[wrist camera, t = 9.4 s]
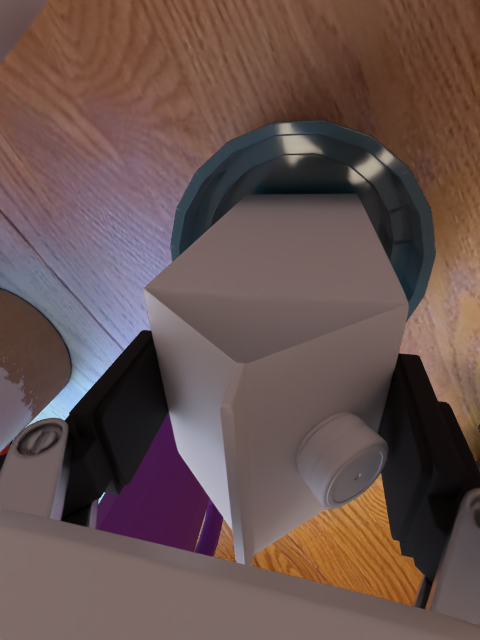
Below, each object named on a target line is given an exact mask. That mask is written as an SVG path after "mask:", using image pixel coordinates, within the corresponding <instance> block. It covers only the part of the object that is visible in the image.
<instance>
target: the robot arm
mask: <svg viewBox="0 0 480 640" xmlns="http://www.w3.org/2000/svg"><path fill="white" fill-rule="evenodd" d="M168 412H169V410H168V405H167V400H166V396H165V391H164V386H163V382H162V377H161V373H160V368H159V363H158V359H157V354H156V350H155V345H154V340H153V336H152V331H148V330H143V331H141V332H140V333H139V334H138V336H137V337H136V338H135V339H134V340H133V341H132V342H131V343H130V345H129V346H128V347H127V348H126V349H125V350H124V351H123V353H122V354H121V355H120V356H119V357H118V358H117V359H116V360H115V362H114V363H113V364H112V365H111V366H110V367H109V368H108V370H107V371H106V372H105V373H104V374H103V375H102V376H101V377H100V379H99V380H98V381H97V382H96V383H95V384H94V385H93V387H92V388H91V389H90V390H89V391H88V392H87V393H86V394H85V396H84V397H83V398H82V399H81V400H80V401H79V402H78V403H77V405H76V406H75V407H74V408H73V409H72V410H71V411H70V413H69V414H70V415H69V416H68V417H67V419H66V420H65V421H64V420H62V419H59V418H48V419H43V420H40V421H37V422H35V423H33V424H31V425H29V426H28V427H26V428H25V429H24V430H22V431H21V432H20V433H19V434H18V435H17V436H16V437H15V439H14V440H13V442H12V444H11V446H10V448H9V451H8V452H7V453H5V454H3V455H0V640H480V471H479V469H478V467H477V464H476V462H475V460H474V458H473V455H472V453H471V451H470V449H469V446H468V444H467V442H466V440H465V438H464V435H463V433H462V431H461V429H460V426H459V424H458V422H457V420H456V417H455V415H454V413H453V411H452V408H451V407H450V405H449V404H448V403H446V402H439V401H438V400H437V398H436V395H435V393H434V391H433V388H432V386H431V383H430V381H429V378H428V376H427V373H426V371H425V368H424V366H423V364H422V361H421V359H420V357H419V356H418V355H410V354H398V358H397V362H396V366H395V369H394V373H393V377H392V381H391V385H390V389H389V393H388V397H387V401H386V405H385V409H384V413H383V416H382V420H381V424H380V428H379V432H378V435H380V436H381V437H382V438H383V439H384V440H385V441H386V442H387V445H388V457H387V461H386V463H385V465H384V467H383V470H382V471H381V475H382V481H383V487H384V493H385V499H386V506H387V512H388V518H389V524H390V530H391V535H392V538H393V540H397V541H399V542H400V548H401V554H402V555H403V556H408V557H413V558H414V563H415V566H416V567H417V568H418V569H419V570H420V571H421V572H422V573H423V576H422V579H421V582H420V585H419V588H418V591H417V594H416V597H415V600H414V603H413V606H409V605H406V604H402V603H398V602H394V601H390V600H387V599H383V598H379V597H375V596H371V595H368V594H363V593H359V592H355V591H351V590H347V589H343V588H339V587H335V586H331V585H327V584H323V583H318V582H314V581H310V580H306V579H302V578H298V577H294V576H290V575H286V574H282V573H278V572H274V571H269V570H265V569H261V568H257V567H253V566H249V565H245V564H240V563H236V562H232V561H228V560H224V559H220V558H215V557H211V556H207V555H203V554H199V553H195V552H190V551H186V550H182V549H178V548H174V547H169V546H165V545H161V544H157V543H153V542H148V541H144V540H140V539H136V538H131V537H127V536H123V535H118V534H114V533H110V532H106V531H101V530H97V529H96V522H97V511H98V500H99V498H101V496H102V494H103V493H104V492H105V493H110V494H115V495H119V494H120V493H121V491H122V489H123V487H124V485H129V483H130V482H131V481H132V479H133V477H134V475H135V473H136V472H137V470H138V468H139V466H140V464H141V462H142V460H143V459H144V457H145V455H146V453H147V451H148V449H149V447H150V446H151V444H152V442H153V440H154V438H155V436H156V435H157V433H158V431H159V429H160V427H161V425H162V423H163V422H164V420H165V418H166V416H167V414H168Z"/></svg>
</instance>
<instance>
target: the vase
mask: <svg viewBox="0 0 480 640" xmlns="http://www.w3.org/2000/svg"><path fill="white" fill-rule="evenodd" d="M70 373H71V362H70V357H69V354H68V351H67V348H66V346H65V344H64V342H63V340H62V339H61V337H60V335H59V334H58V332H57V331H56V330H55V328H54V327H53V326H52V325H51V324H50V322H49V321H48V320H47V319H46V318H45V317H44V316H43V315H42V314H41V313H40V312H38V311H37V310H36V309H35V308H34V307H32V306H31V305H30V304H28V303H27V302H25V301H24V300H22V299H21V298H19V297H17V296H15V295H13V294H11V293H9V292H7V291H4V290H2V289H0V452H1V451H2V450H3V449H4V448H5V447H6V446H7V445H8V444H9V443H10V442H11V441H12V440H13V439H14V438H15V437H16V436H17V435H18V434H19V433H20V432H21V431H22V430H23V429H24V428H25V427H26V426H27V425H28V424H29V423H30V422H31V421H32V420H33V419H34V418H35V417H36V416H37V415H38V414H39V413H40V412H41V411H42V410H43V409H44V408H45V407H46V406H47V405H48V404H49V403H50V402H51V401H52V400H53V399H54V398H55V397H56V396H57V395H58V394H59V393H60V391H61V390H62V389H63V388H64V387H65V385H66V384H67V382H68V380H69V377H70Z"/></svg>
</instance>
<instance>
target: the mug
mask: <svg viewBox="0 0 480 640" xmlns="http://www.w3.org/2000/svg"><path fill="white" fill-rule="evenodd" d="M206 509H207V511H206ZM205 513H206V517H205V521H204V525H203V528H202V532H201V535H200V539H199V542H198V544H197V547H196V549H195V546H196V542H197V539H198V536H199V533H200V529H201V526H202V523H203V519H204V516H205ZM222 522H223V516H222V515H221V513H220V512H219V510H218V509H217V508H216V506H215V505H214V503H213V502H212V500H211V499H210V497H209V496H208V494H207V493H206V492H205V490H204V489H203V487H202V486H201V484H200V483H199V481H198V480H197V479H196V477H195V476H194V474H193V473H192V471H191V470H190V468H189V467H188V465H187V464H186V463H185V461H184V460H183V458H182V457H181V455H180V454H179V452H178V450H177V446H176V442H175V437H174V433H173V428H172V423H171V419H170V414H169V412H168V414H167V416H166V418H165V420H164V422H163V423H162V425H161V427H160V429H159V431H158V433H157V435H156V436H155V438H154V440H153V442H152V444H151V446H150V447H149V449H148V451H147V453H146V455H145V457H144V459H143V460H142V462H141V464H140V466H139V468H138V470H137V472H136V473H135V475H134V477H133V479H132V481H131V482H130V483H129V485H124V487H123V489H122V491H121V493H120V494H119V495H115V494H110V493H105V494H104V496H103V498H102V499H101V501H100V503H99V505H98V511H97V522H96V529H97V530H101V531H106V532H110V533H114V534H118V535H123V536H127V537H131V538H136V539H140V540H144V541H148V542H153V543H157V544H161V545H165V546H169V547H174V548H178V549H182V550H186V551H190V552H194V549H195V553H199V554H203V555H207V556H211V557H213V556H214V553H215V550H216V547H217V544H218V540H219V536H220V531H221V527H222Z"/></svg>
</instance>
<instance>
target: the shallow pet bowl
mask: <svg viewBox="0 0 480 640" xmlns="http://www.w3.org/2000/svg"><path fill="white" fill-rule="evenodd" d="M248 194H357V195H358V196H359V198H360V201H361V203H362V205H363V207H364V209H365V211H366V213H367V215H368V217H369V219H370V221H371V223H372V226H373V228H374V230H375V232H376V234H377V236H378V238H379V240H380V242H381V244H382V246H383V248H384V251H385V253H386V255H387V257H388V259H389V261H390V263H391V265H392V267H393V269H394V271H395V273H396V276H397V278H398V280H399V282H400V284H401V286H402V288H403V291H404V293H405V296H406V298H407V301H408V305H409V309H408V315H407V320H408V319H409V317H410V316H411V315H412V313H413V312H414V310H415V309H416V307H417V306H418V304H419V303H420V301H421V300H422V298H423V297H424V295H425V292H426V289H427V285H428V281H429V278H430V274H431V271H432V267H433V263H434V260H435V254H436V250H435V239H434V228H433V217H432V211H431V207H430V206H429V204H428V202H427V200H426V198H425V196H424V194H423V192H422V190H421V188H420V186H419V184H418V182H417V180H416V178H415V177H414V175H413V173H412V171H411V169H409V167H408V166H407V165H406V164H405V163H404V162H402V161H401V160H400V159H399V158H398V157H397V156H395V155H394V154H393V153H392V152H391V151H389V150H388V149H387V148H386V147H385V146H384V145H382V144H381V143H380V142H379V141H378V140H376V139H375V138H374V137H372V136H371V135H368V134H365V133H362V132H359V131H356V130H353V129H350V128H347V127H344V126H341V125H338V124H335V123H332V122H329V121H326V120H324V121H323V120H307V121H287V122H274V123H270V124H267V125H265V126H263V127H260V128H258V129H256V130H254V131H251V132H249V133H247V134H244V135H242V136H240V137H237V138H235V139H233V140H230V141H229V142H227V143H226V144H225V145H224V146H223V147H222V148H221V149H220V150H219V151H217V152H216V153H215V154H214V155H213V156H212V157H211V158H210V159H209V160H208V161H207V162H206V163H205V164H204V165H202V166H201V167H200V168H199V169H198V170H197V171H196V173H195V174H194V176H193V178H192V180H191V182H190V183H189V185H188V187H187V189H186V191H185V193H184V195H183V197H182V199H181V201H180V203H179V204H178V206H177V209H176V214H175V220H174V226H173V232H172V239H171V245H170V246H171V254H172V261H174V260H175V259H176V258H178V257H179V256H180V255H181V254H182V253H183V252H184V251H185V250H186V249H188V248H189V247H190V246H191V245H192V244H193V243H194V242H195V241H196V240H197V239H199V238H200V237H201V236H202V235H203V234H204V233H205V232H206V231H207V230H208V229H210V228H211V227H212V226H213V225H214V224H215V223H216V222H217V221H218V220H219V219H221V218H222V217H223V216H224V215H225V214H226V213H227V212H228V211H229V210H231V209H232V208H233V207H234V206H235V205H236V204H237V203H238V202H239V201H240V200H242V199H243V198H244V197H245V196H246V195H248ZM407 320H406V322H407Z"/></svg>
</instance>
